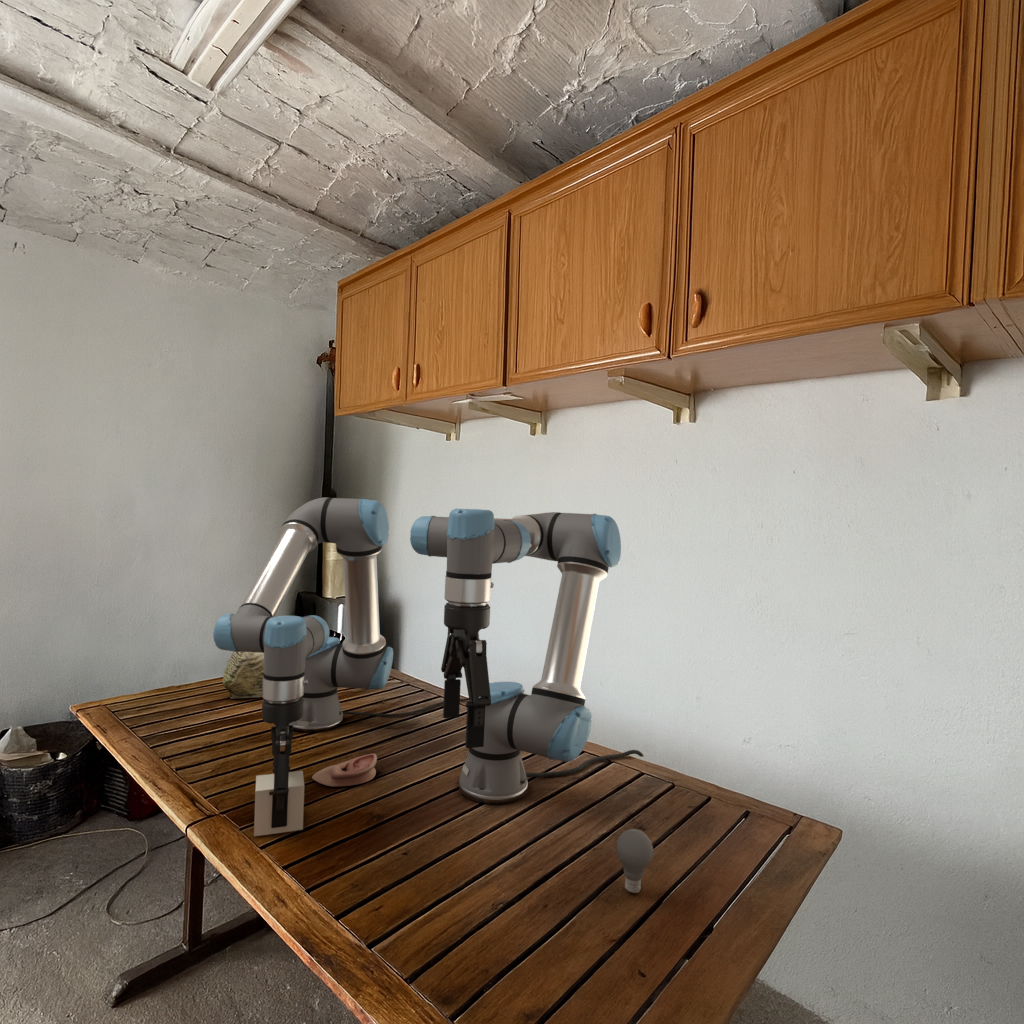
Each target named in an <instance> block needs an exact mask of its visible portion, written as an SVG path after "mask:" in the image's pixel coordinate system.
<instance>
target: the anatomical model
mask: <svg viewBox="0 0 1024 1024" xmlns="http://www.w3.org/2000/svg"><path fill="white" fill-rule="evenodd" d="M377 761H378V756H377V754H376V753H368V754H363V755H360V756H357V757H354V758H351V759H348V760H346V761H343V762H340V763H337V764H332V765H329V766H326V767H324V768H322V769H320V770H318V771H317V772H315V773H314V774H313V775H312V776H311V779H312V780H313V781H315V782H317V783H318V784H321V785H323V786H327V787H333V788H334V787H347V786H356V785H361V784H364V783H367V782H369V781H372V780H373V779H374V778H375V776H376V773H377V770H376V768H375V767H376V764H377Z"/></svg>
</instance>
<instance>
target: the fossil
mask: <svg viewBox="0 0 1024 1024" xmlns="http://www.w3.org/2000/svg"><path fill="white" fill-rule="evenodd" d="M263 673H264V653H258V652H234V651H232V653H231V656H230V657H229V659H228V660H227V663H226V666H225V668H224V671H223V675H222V676H223V677H222V685H223V687H224V688H225V690H226V691H228V693H229V698H230V699H250V698H263V697H262V687H263Z"/></svg>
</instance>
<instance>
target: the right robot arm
mask: <svg viewBox="0 0 1024 1024" xmlns="http://www.w3.org/2000/svg"><path fill="white" fill-rule="evenodd" d="M410 528H411V529H410V535H409V536H410V537H409V542H410V545H411V548H412V550H413V551H414V552H415V553H416V554H418V555H422V556H428V557H429V558H431V557H435V558H436V557H437V558H446V571H445V580H444V600H445V601H446V603H445V604H444V608H443V625H444V626H445V627H446V628H447V636H446V641H445V647H444V651H443V658H442V662H441V667H440V670H441V671H440V672H441V673H443V678H444V682H443V683H444V684H443V686H444V687H443V702H444V704H443V707H442V709H443V711H442V718H443V719H456V718H460V710H461V709H460V707H461V705H460V704H461V701H460V699H461V685H462V684H461V683H462V682H461V681H462V680H461V679H462V678H463V672H462V669H463V671H464V677H465V683H466V689H467V695H468V698H469V700H468V701H467V702H465V708H466V722H465V723H466V727H465V728H466V729H465V745H464V747H465V748H466V749H468V752H467V753H468V754H467V756H466V759H465V762H464V763H463V765H462V769H461V772H460V775H459V778H458V790H459V792H460V794H462V795H463V796H464V797H465V798H467V799H469V800H471V801H474V802H476V803H481V804H490V805H502V804H509V803H513V802H516V801H518V800H520V799H522V798H524V797H525V796H526V794H527V793H528V785H529V784H528V778H549V777H561V776H566V775H567V776H568V775H572V774H574V773H577V772H580V771H582V770H583V769H584V768H585V767H587V766H589V765H591V764H593V763H594V764H595V763H597V762H601V761H607V760H613V759H622V758H625V757H628V756H630V755H637V756H638V757H642V758H643V757H644V756H645V755H644V754H643V752H641V751H640V750H638V749H629V750H626V751H624V752H621V753H615V754H607V755H601V756H597V757H593V758H590V759H588V760H586V761H584V762H582V763H581V764H580V765H578V766H575V767H572V768H569V769H565V770H557V771H547V772H526V769H525V765H524V762H523V759H522V758H523V757H522V753H521V752H525V753H529V754H532V755H535V756H540V757H544V758H546V759H548V760H550V761H551V760H552V761H554V760H555V761H559V762H565V763H568V762H572V761H574V760H576V759H577V758H578V757H579V756H580V755H581V753H582V751H583V750H584V748H585V746H586V744H587V743H588V739H589V737H590V733H591V729H592V722H593V721H592V717H593V715H592V711H591V709H590V708H588V707H587V705H585V704H586V696H585V695H584V693H583V692H582V689H581V686H582V680H583V676H584V675H583V674H584V670H585V664H586V658H587V652H588V648H589V641H590V636H591V631H592V624H593V620H594V614H595V608H596V602H597V597H598V591H599V585H600V582H601V581H603V580H604V579H606V578H607V577H608V574H609V568H614V567H617V566H618V565H619V562H620V560H621V553H622V541H621V533H620V530H619V526H618V524H617V522H616V520H615V519H614V518H613V517H611V516H610V515H604V514H597V513H575V512H574V513H573V512H560V511H558V512H556V511H550V512H549V511H548V512H542V513H541V512H540V513H533V514H518V515H515V516H513V517H512V518H497V517H496V518H495V515H494V512H493V511H492V510H490V509H481V508H479V509H478V508H453V509H452V510H450V512H449V515H448V516H436V515H423V516H420V517H418V518H416V520H415V521H414V522H413V523H412V525H411V527H410ZM524 557H529V558H535V559H540V560H546V561H550V562H551V561H552V562H557V565H556V567H557V569H558V570H559V572H560V573H561V578H560V583H559V588H558V594H557V597H556V598H557V599H556V604H555V608H554V614H553V619H552V624H551V629H550V634H549V638H548V644H547V648H546V653H545V659H544V663H543V669H542V674H541V678H540V680H539V681H538V682H537V683H535V684H534V685H533V686H532V688H531V693H530V694H527V693H525V688H524V685H523V683H522V684H521V683H519V682H517V681H495V682H494V681H493V682H490V676H489V667H488V657H487V656H488V655H487V645H488V643H487V640H486V639H480V634H479V633H480V631H481V630H485V629H487V628H489V626H490V621H491V605H489V602H490V601H491V595H492V594H491V592H492V590H491V589H493V588H494V582H492V572H493V565H494V564H503V563H507V564H511V563H513V562H517V561H519V560H522V559H523V558H524Z"/></svg>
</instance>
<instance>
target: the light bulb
mask: <svg viewBox="0 0 1024 1024" xmlns="http://www.w3.org/2000/svg"><path fill="white" fill-rule="evenodd" d="M615 849H616V854H617V857H618V859H619V861H620V863H621V865H622V867H623V873H624V874H623V875H624V876H625V878H624V888H625V890H627V891H628V892H630V893H634V894H635V893H639V892H640V891H641V889H642V887H641V886H642V879H643V877H644V875H645V871H646V868H647V867H648V866H649V864H650V863H651V861H652V859H653V855H654V847H653V843H652V841H651V838H649V836H648V835H647V834H646V833H645V832H643V831H642V830H641V829H636V828H629V829H627V830H625V831H623V832H622V833H621V834H620V835H619V837H618V839H617V841H616V847H615Z"/></svg>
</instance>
